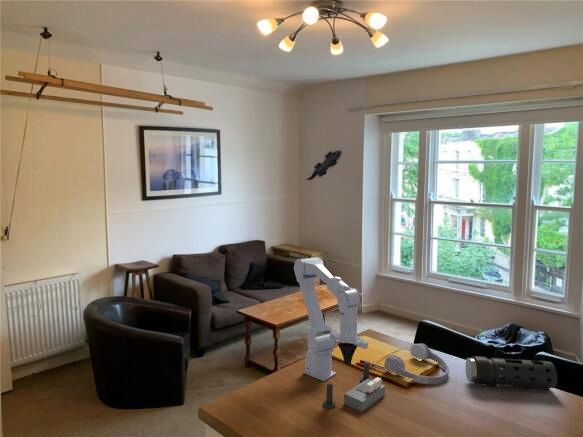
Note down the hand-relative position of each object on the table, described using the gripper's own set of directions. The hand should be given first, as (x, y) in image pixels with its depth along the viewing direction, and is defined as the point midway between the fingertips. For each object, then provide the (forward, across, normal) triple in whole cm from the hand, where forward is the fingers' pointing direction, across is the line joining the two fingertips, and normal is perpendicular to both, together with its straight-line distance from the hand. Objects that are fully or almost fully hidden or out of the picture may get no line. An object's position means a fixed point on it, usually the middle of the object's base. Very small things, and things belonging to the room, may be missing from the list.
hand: (347, 363), depth 149 cm
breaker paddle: (+7, +9, 0) cm, 11 cm away
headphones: (+11, +11, +32) cm, 36 cm away
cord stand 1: (+10, 0, -11) cm, 15 cm away
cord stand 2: (+10, 0, +11) cm, 15 cm away
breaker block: (+10, +7, 0) cm, 13 cm away
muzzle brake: (+11, +40, +43) cm, 60 cm away
